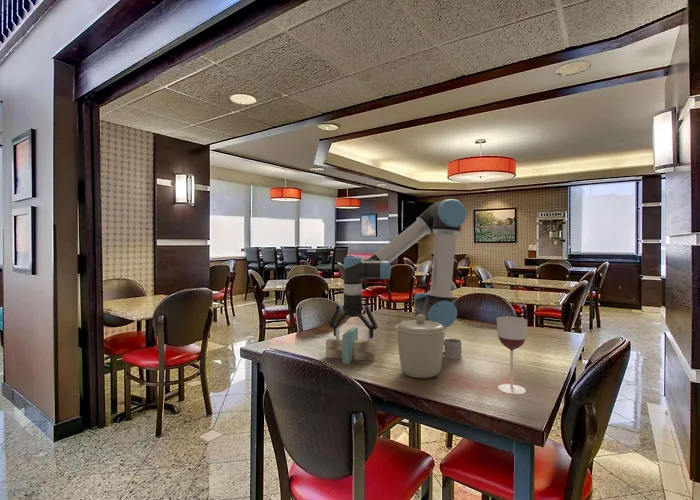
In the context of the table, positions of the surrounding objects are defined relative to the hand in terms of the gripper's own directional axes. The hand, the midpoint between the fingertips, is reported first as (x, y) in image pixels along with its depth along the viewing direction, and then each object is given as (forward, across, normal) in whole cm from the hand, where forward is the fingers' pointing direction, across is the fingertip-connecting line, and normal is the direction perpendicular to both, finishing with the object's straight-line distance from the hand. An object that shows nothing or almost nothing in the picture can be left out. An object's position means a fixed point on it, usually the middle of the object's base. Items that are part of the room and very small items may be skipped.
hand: (353, 345), depth 157 cm
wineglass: (+4, -58, +22) cm, 62 cm away
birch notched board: (+4, 0, +4) cm, 6 cm away
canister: (+4, -29, +16) cm, 33 cm away
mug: (+4, -38, -8) cm, 39 cm away
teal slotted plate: (+4, 0, +4) cm, 6 cm away
